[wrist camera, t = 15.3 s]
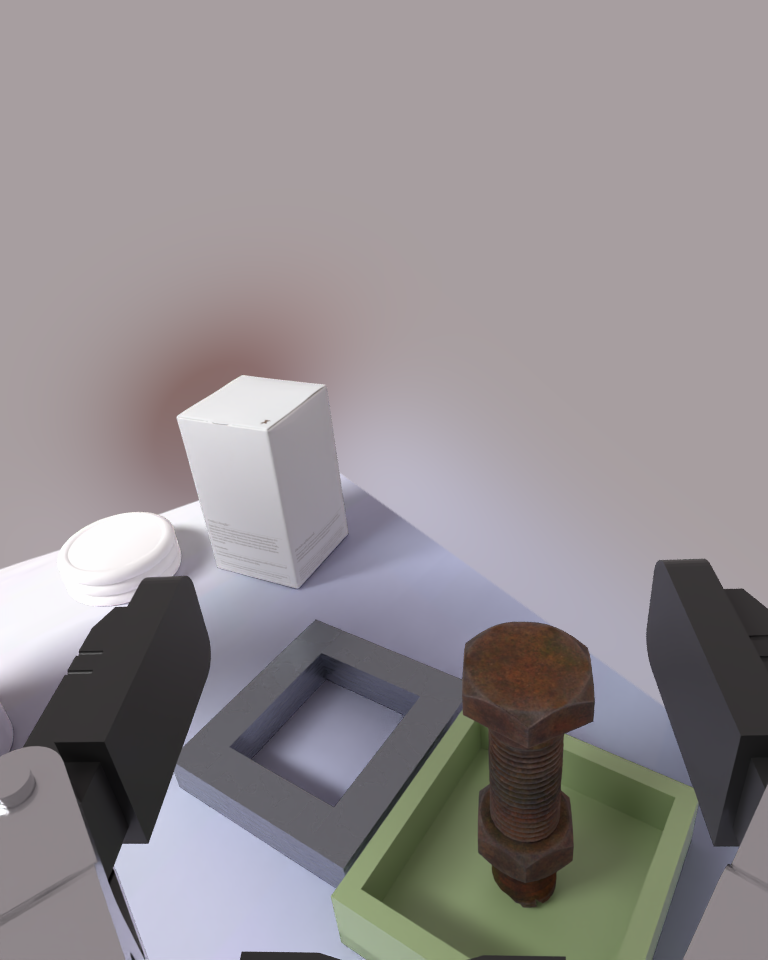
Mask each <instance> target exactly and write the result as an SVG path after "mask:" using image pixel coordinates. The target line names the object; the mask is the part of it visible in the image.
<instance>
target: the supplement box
mask: <svg viewBox="0 0 768 960" xmlns="http://www.w3.org/2000/svg"><path fill="white" fill-rule="evenodd" d="M177 421H178V424H179V427H180V431H181V435H182V438H183V442H184V446H185V449H186V453H187V457H188V460H189V464H190V468H191V471H192V475H193V479H194V483H195V486H196V490H197V494H198V497H199V501H200V505H201V509H202V512H203V516H204V520H205V523H206V527H207V531H208V534H209V538H210V542H211V545H212V549H213V553H214V557H215V561H216V564H217V567H218V568H220V569H224V570H228V571H232V572H235V573H239V574H243V575H247V576H251V577H254V578H258V579H262V580H266V581H270V582H273V583H277V584H281V585H285V586H289V587H292V588H296V589H298V588H300V587H301V586H302V584H303V583H304V582H305V581H306V580H307V579H308V578H309V577H310V576H311V574H312V573H313V572H314V571H315V570H316V569H317V568H318V567H319V566H320V564H321V563H322V562H323V561H324V560H325V559H326V558H327V557H328V556H329V555H330V553H331V552H332V551H333V550H334V549H335V548H336V547H337V546H338V545H339V543H340V542H341V541H342V540H343V539H344V538H345V537H346V536H347V535H348V527H347V520H346V514H345V507H344V500H343V494H342V487H341V480H340V473H339V467H338V461H337V453H336V447H335V440H334V433H333V427H332V419H331V412H330V405H329V398H328V391H327V386H326V385H322V384H312V383H304V382H295V381H286V380H276V379H269V378H260V377H252V376H245V375H242V376H240V377H238V378H236V379H235V380H233V381H231V382H230V383H229V384H227V385H226V386H224V387H223V388H221V389H219V390H218V391H216V392H215V393H213V394H212V395H210V396H208V397H207V398H205V399H203V400H202V401H200V402H198V403H197V404H195V405H193V406H192V407H191V408H188V409H187V410H186V411H184V412H182V413H181V414H179V415H178V416H177Z"/></svg>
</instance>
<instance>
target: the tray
mask: <svg viewBox="0 0 768 960" xmlns="http://www.w3.org/2000/svg"><path fill="white" fill-rule="evenodd" d="M563 743H564V747H563V749H564V750H563V767H562V780H561V791H563V792H564V793H565V794H566V795H567V796H569V797H570V803H571V812H572V824H573V840H574V850H573V861H572V862H570V863H569V864H568V865H566V866H565V867H563V868H562V869H561V870H559V871H557V880H556V887H555V890H554V893H553V895H552V896H551V897H550V899H549V900H548V901H546V902H544V903H543V904H542V903H541V902H539V901H537V900H536V902H537V903H536V905H537V907H532V908H523V907H522V906H521V905H520V904H518V903H515V902H514V901H513V900H512V899H511V898H510V897H509V896H508V895H507V894H506V893H504V892H503V891H502V890H501V889H500V888H499V886H498V885H497V883H496V882H495V880H494V877H493V874H492V865H491V864H490V863H489V862H488V861H487V860H485V859H484V858H483V857H482V856H481V855H480V854H479V853H478V803H479V791H480V790H482V789H483V788H484V787H486V786H487V785H489V784H490V782H489V754H488V748H489V736H488V728H487V727H485V726H483V725H482V724H480V723H478V722H476V721H474V720H472V719H470V718H468V717H466V716H464V715H463V710H462V711H461V712H460V714H459V715H458V717H457V718H456V720H455V721H454V722H453V724H452V725H451V727H450V728H449V730H448V731H447V732H446V734H445V735H444V737H443V738H442V739H441V741H440V742H439V744H438V745H437V747H436V748H435V749H434V751H433V752H432V754H431V755H430V756H429V758H428V759H427V761H426V762H425V764H424V765H423V766H422V768H421V769H420V771H419V772H418V774H417V775H416V776H415V778H414V779H413V781H412V782H411V783H410V785H409V786H408V788H407V789H406V791H405V792H404V793H403V795H402V796H401V798H400V799H399V800H398V802H397V803H396V805H395V806H394V808H393V809H392V810H391V812H390V813H389V815H388V816H387V818H386V819H385V820H384V822H383V823H382V825H381V826H380V827H379V829H378V830H377V832H376V833H375V835H374V836H373V837H372V839H371V840H370V842H369V843H368V844H367V846H366V847H365V849H364V850H363V852H362V853H361V854H360V856H359V857H358V859H357V860H356V862H355V863H354V864H353V866H352V867H351V869H350V870H349V871H348V873H347V874H346V876H345V877H344V879H343V880H342V881H341V883H340V884H339V886H338V887H337V889H336V890H335V891H334V893H333V894H332V896H331V899H332V903H333V908H334V912H335V917H336V921H337V925H338V930H339V934H340V939H341V942H342V943H343V944H345V945H346V946H347V947H349V948H350V949H352V950H353V951H355V952H356V953H358V954H359V955H360V956H362V957H363V958H365V959H366V960H468V959H472V958H475V957H479V956H482V955H504V956H566V960H652V959H653V956H654V953H655V950H656V947H657V943H658V940H659V937H660V934H661V931H662V928H663V925H664V922H665V919H666V916H667V913H668V910H669V907H670V904H671V901H672V897H673V894H674V891H675V888H676V885H677V882H678V879H679V876H680V873H681V870H682V867H683V864H684V861H685V858H686V854H687V851H688V848H689V845H690V842H691V839H692V834H693V829H694V825H695V820H696V815H697V810H698V805H699V803H698V800H697V797H696V794H695V791H694V788H693V787H690V786H688V785H685V784H683V783H681V782H678V781H676V780H674V779H671V778H669V777H666V776H664V775H662V774H659V773H657V772H655V771H652V770H650V769H647V768H645V767H643V766H640V765H638V764H636V763H633V762H631V761H628V760H626V759H624V758H621V757H619V756H616V755H614V754H612V753H609V752H607V751H605V750H602V749H600V748H597V747H595V746H593V745H590V744H588V743H586V742H583V741H581V740H578V739H576V738H574V737H571V736H569V735H567V734H564V741H563Z"/></svg>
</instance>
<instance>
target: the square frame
mask: <svg viewBox="0 0 768 960" xmlns="http://www.w3.org/2000/svg"><path fill="white" fill-rule="evenodd" d="M326 679H327V680H330V681H332V682H334V683H336V684H338V685H340V686H343V687H345V688H347V689H349V690H351V691H353V692H356V693H358V694H360V695H362V696H364V697H366V698H368V699H371V700H373V701H375V702H377V703H379V704H381V705H384V706H386V707H388V708H390V709H392V710H394V711H397V712H399V713H401V714H403V715H405V717H404V718H403V719H402V721H401V722H400V723H399V724H398V726H397V727H396V728H395V730H394V731H393V732H392V733H391V735H390V736H389V737H388V739H387V740H386V741H385V742H384V744H383V745H382V746H381V748H380V749H379V750H378V751H377V753H376V754H375V755H374V757H373V758H372V759H371V760H370V762H369V763H368V764H367V766H366V767H365V768H364V769H363V771H362V772H361V773H360V775H359V776H358V777H357V778H356V780H355V781H354V782H353V784H352V785H351V786H350V788H349V789H348V790H347V791H346V793H345V794H344V795H343V797H342V798H341V799H340V800H339V802H338V803H337V804H336V806H335V807H333V806H331V805H329V804H327V803H326V802H324V801H322V800H320V799H319V798H317V797H315V796H313V795H312V794H310V793H308V792H307V791H305V790H303V789H301V788H300V787H298V786H296V785H294V784H293V783H291V782H289V781H287V780H286V779H284V778H282V777H281V776H279V775H277V774H275V773H274V772H272V771H270V770H268V769H267V768H265V767H263V766H261V765H260V764H258V763H256V762H255V761H253V760H251V759H252V758H253V757H254V755H255V754H256V753H257V752H258V751H259V750H260V749H261V748H262V747H263V746H264V745H265V744H266V743H267V742H268V741H269V739H270V738H271V737H272V736H273V735H274V734H275V733H276V732H277V731H278V730H279V729H280V728H281V727H282V726H283V724H284V723H285V722H286V721H287V720H288V719H289V718H290V717H291V716H292V715H293V714H294V713H295V712H296V711H297V709H298V708H299V707H300V706H301V705H302V704H303V703H304V702H305V701H306V700H307V699H308V698H309V697H310V696H311V695H312V693H313V692H314V691H315V690H316V689H317V688H318V687H319V686H320V685H321V684H322V683H323V682H324V681H325V680H326ZM462 710H463V704H462V680H461V679H459V678H457V677H454V676H452V675H449V674H447V673H444V672H442V671H440V670H437V669H435V668H432V667H430V666H427V665H425V664H423V663H420V662H418V661H415V660H413V659H410V658H408V657H406V656H403V655H401V654H398V653H396V652H393V651H391V650H389V649H386V648H384V647H381V646H379V645H376V644H374V643H372V642H369V641H367V640H364V639H362V638H359V637H357V636H355V635H352V634H350V633H347V632H345V631H342V630H340V629H338V628H335V627H333V626H330V625H328V624H325V623H323V622H321V621H318V620H315V621H314V622H313V623H312V624H311V625H309V626H308V627H307V628H306V629H305V630H304V631H303V632H302V633H301V634H300V635H299V636H298V637H297V638H296V639H295V640H294V641H293V642H292V643H291V644H290V645H289V646H288V647H287V648H286V649H284V650H283V651H282V652H281V653H280V654H279V655H278V656H277V657H276V658H275V659H274V660H273V661H272V662H271V663H270V664H269V665H268V666H267V667H266V668H265V669H264V670H263V671H262V672H261V673H260V674H258V675H257V676H256V677H255V678H254V679H253V680H252V681H251V682H250V683H249V684H248V685H247V686H246V687H245V688H244V689H243V690H242V691H241V692H240V693H239V694H238V695H237V696H236V697H235V698H234V699H232V700H231V701H230V702H229V703H228V704H227V705H226V706H225V707H224V708H223V709H222V710H221V711H220V712H219V713H218V714H217V715H216V716H215V717H214V718H213V719H212V720H211V721H210V722H209V723H208V724H206V725H205V726H204V727H203V728H202V729H201V730H200V731H199V732H198V733H197V734H196V735H195V736H194V737H193V738H192V739H191V740H190V741H189V742H188V743H187V744H186V745H185V746H184V747H183V748H182V750H181V753H180V755H179V758H178V761H177V764H176V767H175V770H174V773H175V776H176V778H177V781H178V784H179V787H181V788H182V789H184V790H185V791H187V792H188V793H190V794H191V795H193V796H195V797H196V798H198V799H199V800H201V801H202V802H204V803H205V804H207V805H208V806H210V807H212V808H213V809H215V810H216V811H218V812H219V813H221V814H222V815H224V816H225V817H227V818H228V819H230V820H232V821H233V822H235V823H236V824H238V825H239V826H241V827H242V828H244V829H245V830H247V831H248V832H250V833H252V834H253V835H255V836H256V837H258V838H259V839H261V840H262V841H264V842H265V843H267V844H269V845H270V846H272V847H273V848H275V849H276V850H278V851H279V852H281V853H282V854H284V855H285V856H287V857H289V858H290V859H292V860H293V861H295V862H296V863H298V864H299V865H301V866H302V867H304V868H305V869H307V870H309V871H310V872H312V873H313V874H315V875H316V876H318V877H319V878H321V879H322V880H324V881H325V882H327V883H329V884H330V885H332V886H333V887H335V888H336V889H337V887H338V886H339V884H340V883H341V881H342V880H343V879H344V877H345V876H346V874H347V873H348V871H349V870H350V869H351V867H352V866H353V864H354V863H355V862H356V860H357V859H358V857H359V856H360V854H361V853H362V852H363V850H364V849H365V847H366V846H367V844H368V843H369V842H370V840H371V839H372V837H373V836H374V835H375V833H376V832H377V830H378V829H379V827H380V826H381V825H382V823H383V822H384V820H385V819H386V818H387V816H388V815H389V813H390V812H391V810H392V809H393V808H394V806H395V805H396V803H397V802H398V800H399V799H400V798H401V796H402V795H403V793H404V792H405V791H406V789H407V788H408V786H409V785H410V783H411V782H412V781H413V779H414V778H415V776H416V775H417V774H418V772H419V771H420V769H421V768H422V766H423V765H424V764H425V762H426V761H427V759H428V758H429V756H430V755H431V754H432V752H433V751H434V749H435V748H436V747H437V745H438V744H439V742H440V741H441V739H442V738H443V737H444V735H445V734H446V732H447V731H448V730H449V728H450V727H451V725H452V724H453V722H454V721H455V720H456V718H457V717H458V715H459V714H460V712H461V711H462Z"/></svg>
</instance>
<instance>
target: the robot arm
mask: <svg viewBox="0 0 768 960" xmlns="http://www.w3.org/2000/svg"><path fill="white" fill-rule="evenodd" d="M646 633H647V634H646V635H647V636H646V637H647V638H646V639H647V651H648V657H649V662H650V665H651V668H652V672H653V674H654V677H655V680H656V682H657V686H658V689H659V691H660V694H661V697H662V700H663V703H664V706H665V709H666V711H667V714H668V717H669V720H670V723H671V726H672V728H673V731H674V734H675V737H676V740H677V743H678V746H679V748H680V751H681V754H682V757H683V760H684V763H685V766H686V768H687V771H688V774H689V777H690V780H691V783H692V785H693V788H694V791H695V794H696V797H697V800H698V803H699V805H700V808H701V811H702V814H703V817H704V820H705V822H706V825H707V828H708V831H709V834H710V837H711V840H712V842H713V845H714V846H740V847H739V849H738V851H737V854H736V856H735V858H734V860H733V862H732V864H731V865H730V864H728V865H727V866H726V868H725V869H724V871H723V873H722V875H721V877H720V879H719V881H718V883H717V886H716V888H715V890H714V892H713V894H712V897H711V899H710V901H709V903H708V905H707V908H706V910H705V912H704V914H703V916H702V919H701V921H700V923H699V925H698V927H697V930H696V932H695V934H694V936H693V938H692V941H691V943H690V945H689V947H688V949H687V952H686V954H685V956H684V958H683V960H768V609H767V608H766V607H765V606H764V605H762V604H761V603H760V602H759V601H758V600H756V599H755V598H753V596H751V595H750V594H749V593H748V592H746V591H745V590H744V589H723V587H722V585H721V583H720V581H719V579H718V578H717V576H716V574H715V572H714V570H713V568H712V566H711V565H710V563H709V562H708V561H707V560H706V559H683V560H659V561H658V562H657V563H656V565H655V570H654V576H653V584H652V592H651V599H650V608H649V615H648V623H647V632H646ZM210 660H211V649H210V641H209V637H208V633H207V630H206V626H205V623H204V619H203V616H202V612H201V609H200V605H199V602H198V599H197V595H196V592H195V588H194V585H193V582H192V580H191V579H190V578H189V577H188V576H170V577H147V578H144V579H143V580H142V581H141V583H140V584H139V586H138V588H137V590H136V592H135V593H134V595H133V597H132V599H131V601H130V603H129V604H128V606H127V607H115V608H114V609H113V610H112V611H111V612H109V613H108V614H107V615H106V616H105V617H104V618H103V619H102V620H100V621H99V622H98V623H97V624H96V625H95V626H94V627H93V628H92V629H91V631H90V633H89V634H88V636H87V638H86V640H85V641H84V643H83V645H82V646H81V648H80V650H79V656H76V657H75V658H74V660H73V662H72V664H71V665H70V667H69V669H68V675H65V676H64V677H63V679H62V681H61V683H60V684H59V686H58V688H57V690H56V691H55V693H54V695H53V696H52V698H51V700H50V702H49V703H48V705H47V707H46V708H45V710H44V712H43V714H42V715H41V717H40V719H39V721H38V722H37V724H36V726H35V727H34V729H33V731H32V733H31V734H30V736H29V738H28V739H27V741H26V743H25V745H24V746H23V748H20V749H17V750H14V751H11V752H9V751H10V749H11V746H12V743H13V734H14V732H13V728H12V723H11V721H10V719H9V718H8V716H7V714H6V712H5V710H4V708H3V706H2V704H1V702H0V960H149V959H148V956H147V954H146V951H145V948H144V945H143V943H142V940H141V937H140V934H139V932H138V929H137V926H136V923H135V920H134V918H133V915H132V912H131V909H130V907H129V904H128V901H127V898H126V896H125V893H124V890H123V887H122V885H121V882H120V879H119V876H118V874H117V871H116V869H115V867H114V864H115V861H116V859H117V856H118V853H119V851H120V848H121V846H122V844H148V843H149V840H150V837H151V835H152V832H153V829H154V826H155V823H156V820H157V818H158V815H159V812H160V809H161V806H162V804H163V801H164V798H165V795H166V792H167V789H168V787H169V784H170V781H171V778H172V775H173V772H174V770H175V767H176V764H177V761H178V758H179V755H180V753H181V750H182V747H183V744H184V741H185V739H186V736H187V733H188V730H189V727H190V724H191V722H192V719H193V716H194V713H195V710H196V707H197V705H198V702H199V699H200V696H201V693H202V690H203V688H204V685H205V682H206V679H207V676H208V673H209V668H210ZM240 960H340V959H337V958H334V957H331V956H327V955H324V954H321V953H302V952H242V953H241V958H240ZM468 960H566V956H504V955H482V956H479V957H475V958H472V959H468Z"/></svg>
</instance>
